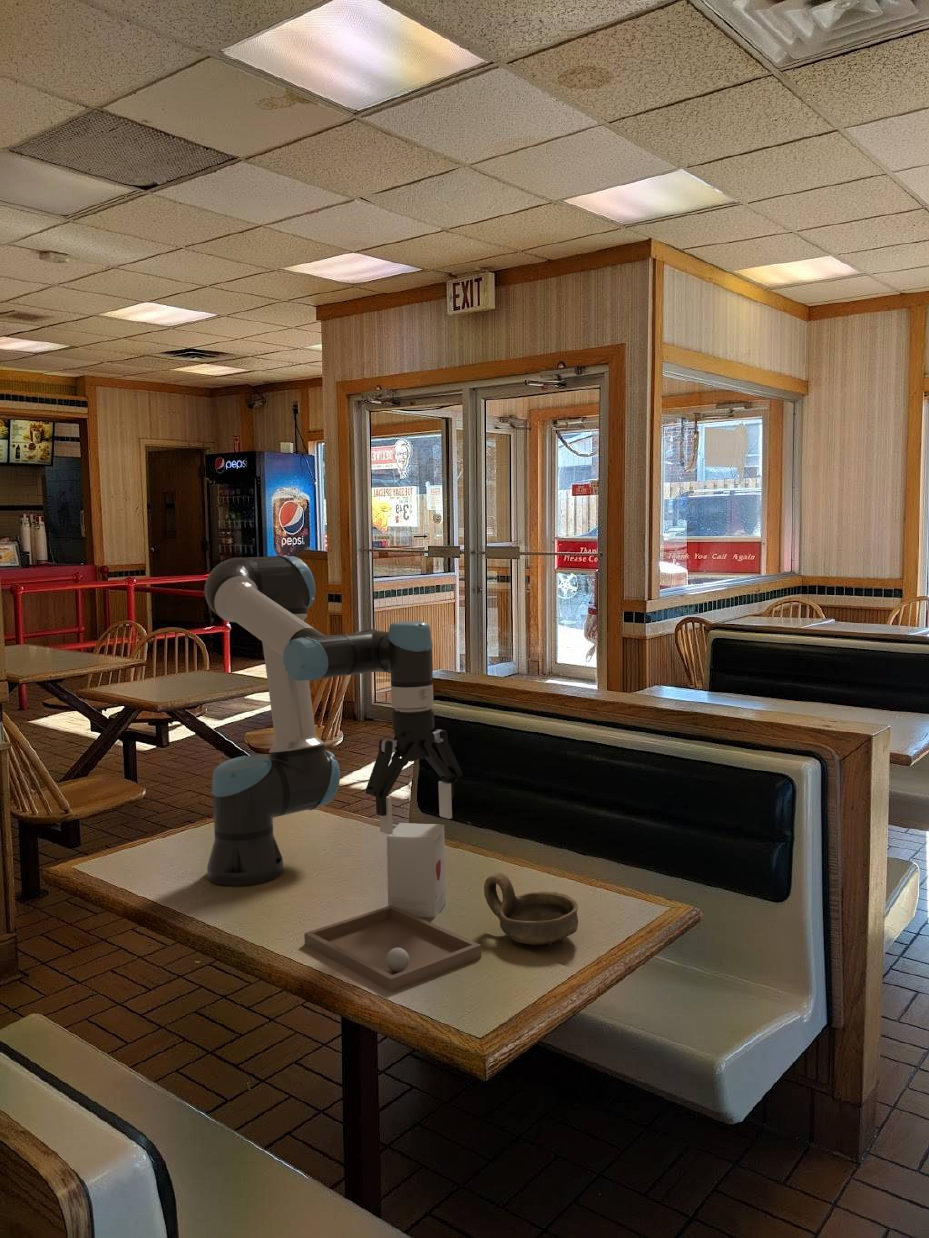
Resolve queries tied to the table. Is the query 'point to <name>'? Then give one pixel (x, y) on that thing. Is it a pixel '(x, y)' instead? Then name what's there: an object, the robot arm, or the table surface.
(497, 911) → the bowl
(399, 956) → the ball
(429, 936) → the tray
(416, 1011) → the table surface
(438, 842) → the supplement box
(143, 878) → the table surface
